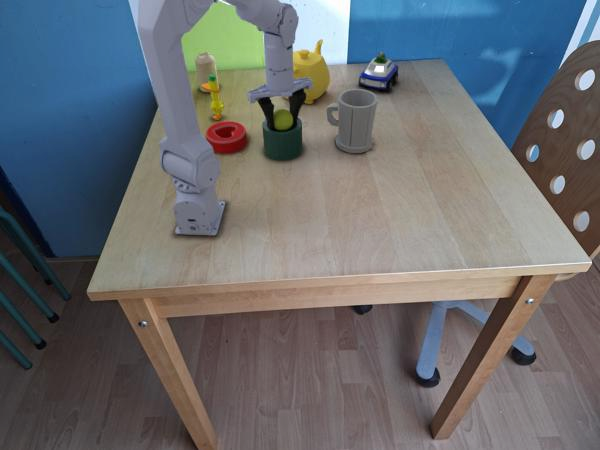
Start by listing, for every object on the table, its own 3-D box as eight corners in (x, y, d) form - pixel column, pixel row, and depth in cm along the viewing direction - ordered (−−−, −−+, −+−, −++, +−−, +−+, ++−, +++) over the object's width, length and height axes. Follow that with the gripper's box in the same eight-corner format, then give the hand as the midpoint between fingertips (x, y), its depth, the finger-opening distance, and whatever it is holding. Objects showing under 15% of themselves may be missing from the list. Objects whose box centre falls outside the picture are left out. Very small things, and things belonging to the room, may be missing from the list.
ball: (297, 132, 96) (296, 112, 93) (276, 137, 95) (275, 117, 91) (287, 121, 99) (287, 102, 96) (268, 127, 98) (266, 107, 94)
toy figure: (202, 117, 112) (194, 73, 104) (211, 111, 114) (204, 68, 106) (222, 124, 110) (215, 79, 101) (231, 118, 112) (224, 74, 103)
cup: (336, 158, 98) (338, 111, 90) (324, 137, 104) (325, 92, 96) (378, 150, 100) (384, 104, 92) (363, 131, 106) (368, 85, 98)
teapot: (341, 83, 125) (343, 41, 116) (311, 114, 112) (311, 69, 104) (300, 75, 130) (300, 33, 121) (267, 104, 117) (264, 59, 108)
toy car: (355, 89, 122) (358, 57, 116) (370, 73, 130) (373, 42, 123) (386, 96, 119) (391, 63, 112) (399, 79, 127) (404, 47, 120)
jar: (301, 161, 97) (300, 134, 93) (262, 160, 98) (259, 133, 93) (303, 139, 104) (303, 114, 99) (266, 138, 104) (264, 113, 99)
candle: (196, 91, 123) (190, 57, 116) (205, 82, 127) (199, 49, 120) (214, 93, 122) (208, 59, 115) (222, 85, 125) (217, 51, 119)
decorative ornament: (207, 134, 106) (204, 123, 104) (245, 129, 107) (243, 118, 105) (208, 155, 99) (206, 144, 97) (249, 150, 101) (247, 139, 98)
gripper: (253, 80, 82) (259, 140, 91) (319, 65, 86) (318, 124, 96) (240, 67, 86) (247, 125, 96) (304, 53, 91) (304, 110, 100)
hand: (282, 124), depth 96 cm, fingers closed on ball, 5 cm apart
